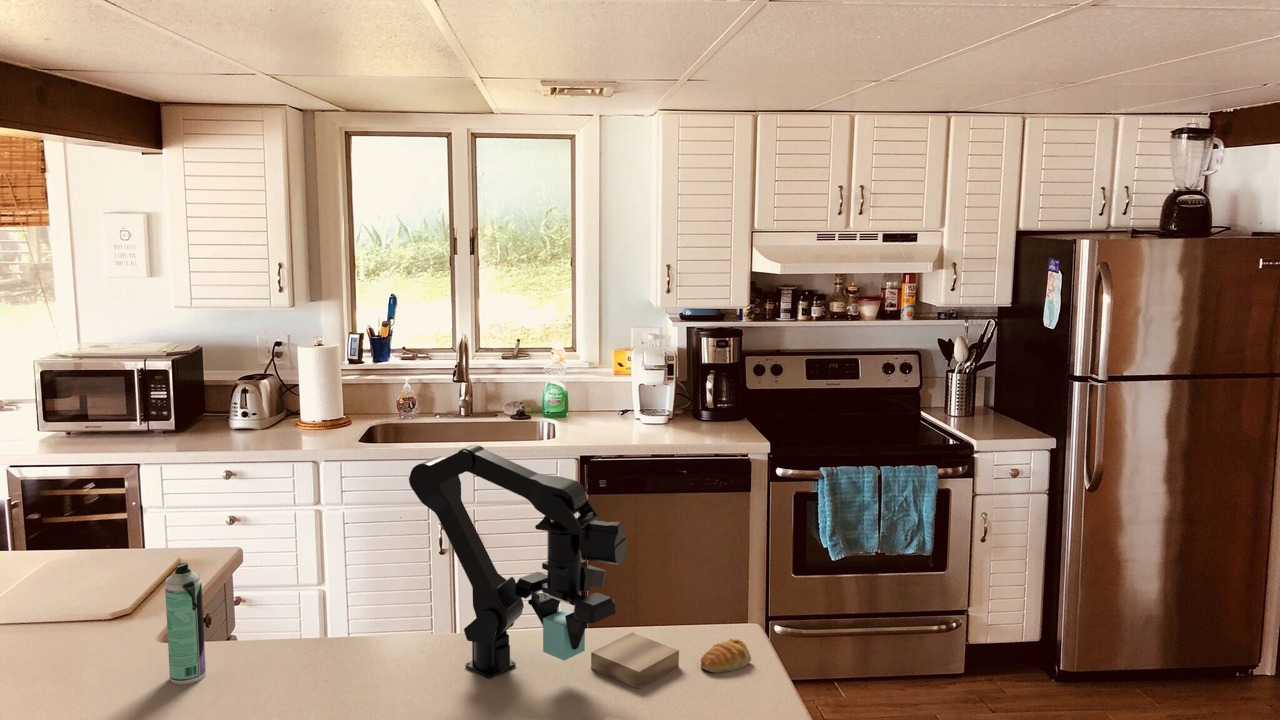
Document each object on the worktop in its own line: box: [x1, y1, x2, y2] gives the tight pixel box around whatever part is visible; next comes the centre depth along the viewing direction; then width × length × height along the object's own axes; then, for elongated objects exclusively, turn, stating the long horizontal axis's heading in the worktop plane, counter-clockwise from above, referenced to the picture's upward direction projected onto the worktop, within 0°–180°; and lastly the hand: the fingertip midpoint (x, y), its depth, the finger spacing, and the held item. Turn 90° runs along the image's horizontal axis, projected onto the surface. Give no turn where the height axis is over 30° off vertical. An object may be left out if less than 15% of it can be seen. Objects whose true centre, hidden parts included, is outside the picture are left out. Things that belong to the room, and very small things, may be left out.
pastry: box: [700, 638, 752, 674], centre depth 165 cm, size 9×7×4 cm
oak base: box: [590, 632, 680, 690], centre depth 163 cm, size 11×11×3 cm
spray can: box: [164, 562, 207, 686], centre depth 156 cm, size 6×6×20 cm
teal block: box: [542, 609, 586, 661], centre depth 157 cm, size 5×5×6 cm
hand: (564, 644), depth 157 cm, fingers closed on teal block, 5 cm apart
